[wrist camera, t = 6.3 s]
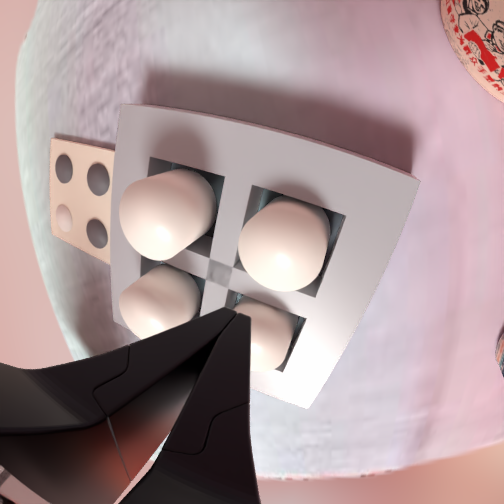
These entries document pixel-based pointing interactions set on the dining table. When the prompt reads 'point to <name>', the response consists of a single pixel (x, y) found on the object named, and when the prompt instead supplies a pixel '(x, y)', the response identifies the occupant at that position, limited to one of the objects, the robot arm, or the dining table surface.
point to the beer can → (500, 354)
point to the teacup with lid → (478, 39)
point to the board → (246, 206)
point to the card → (81, 195)
